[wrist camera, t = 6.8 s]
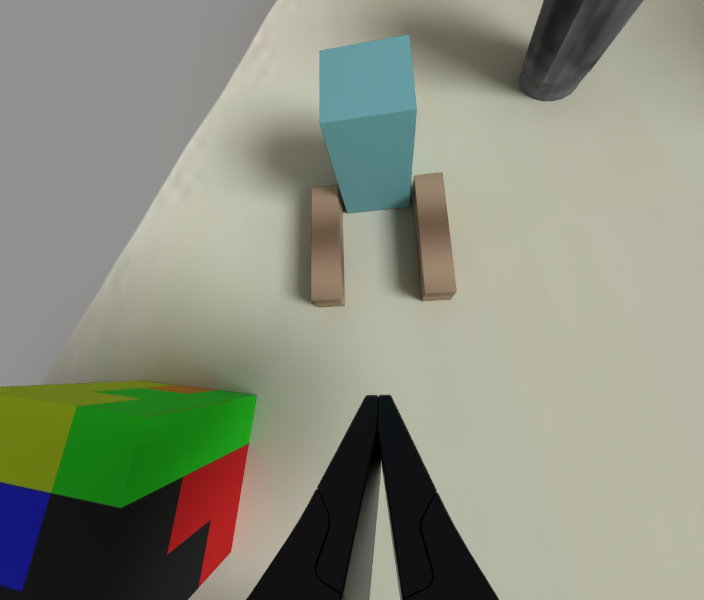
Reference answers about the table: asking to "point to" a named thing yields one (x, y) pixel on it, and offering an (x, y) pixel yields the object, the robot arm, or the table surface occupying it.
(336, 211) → the chute
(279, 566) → the robot arm
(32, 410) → the puzzle toy
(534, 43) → the beverage cup
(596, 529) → the table surface
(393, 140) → the block
